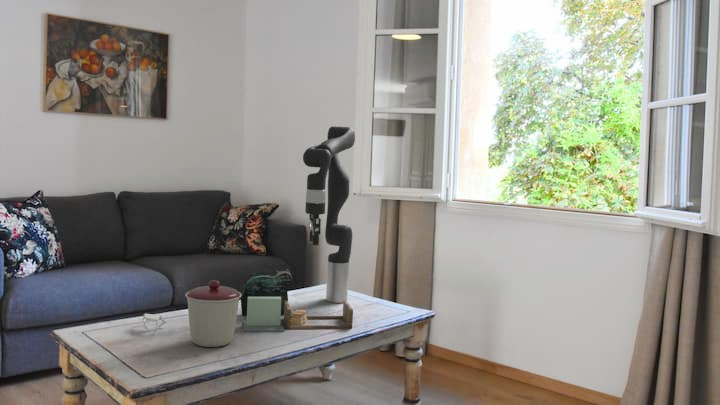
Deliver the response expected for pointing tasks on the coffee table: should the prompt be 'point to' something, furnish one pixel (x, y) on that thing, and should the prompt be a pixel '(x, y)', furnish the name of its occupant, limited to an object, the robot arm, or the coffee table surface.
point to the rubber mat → (262, 328)
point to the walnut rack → (346, 317)
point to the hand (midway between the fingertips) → (313, 243)
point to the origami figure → (153, 318)
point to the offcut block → (298, 318)
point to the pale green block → (264, 311)
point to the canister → (212, 314)
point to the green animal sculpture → (266, 288)
